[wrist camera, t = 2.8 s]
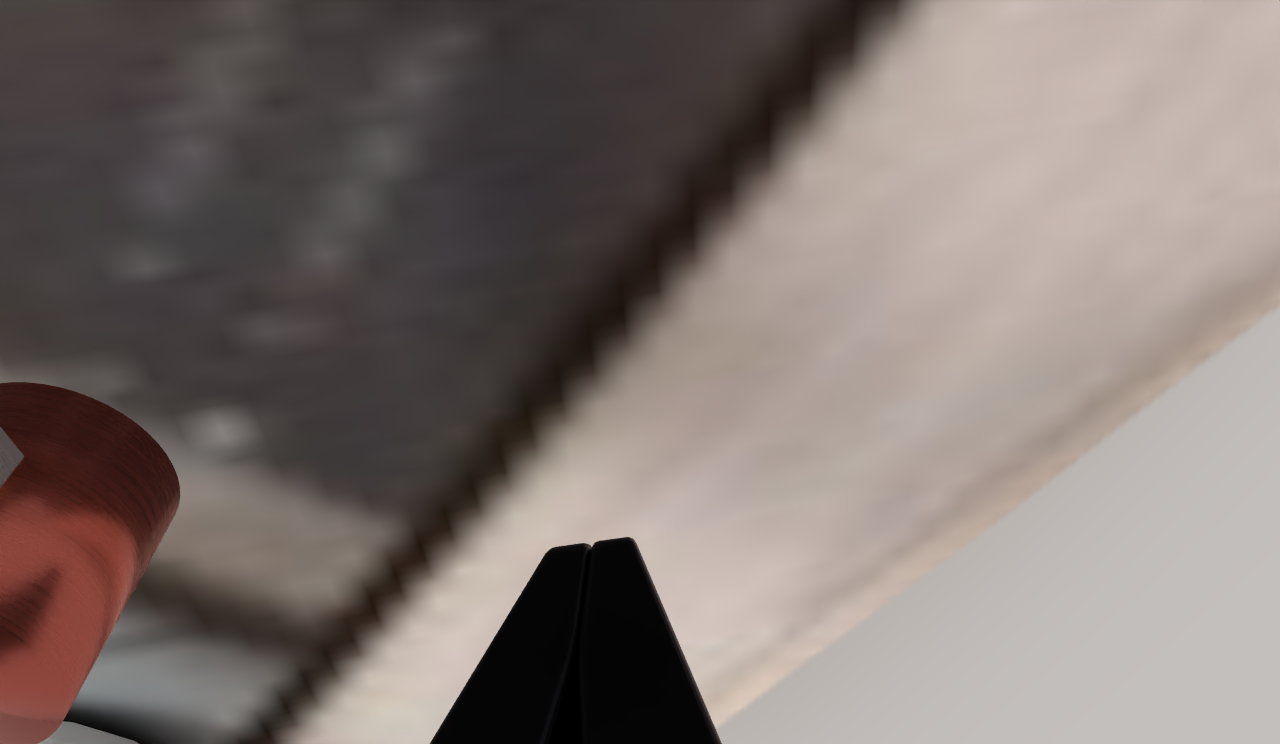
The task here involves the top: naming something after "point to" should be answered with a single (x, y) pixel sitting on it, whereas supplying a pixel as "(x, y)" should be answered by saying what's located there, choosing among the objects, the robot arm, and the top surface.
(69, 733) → the white faceted vase
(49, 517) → the lever
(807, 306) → the top surface
